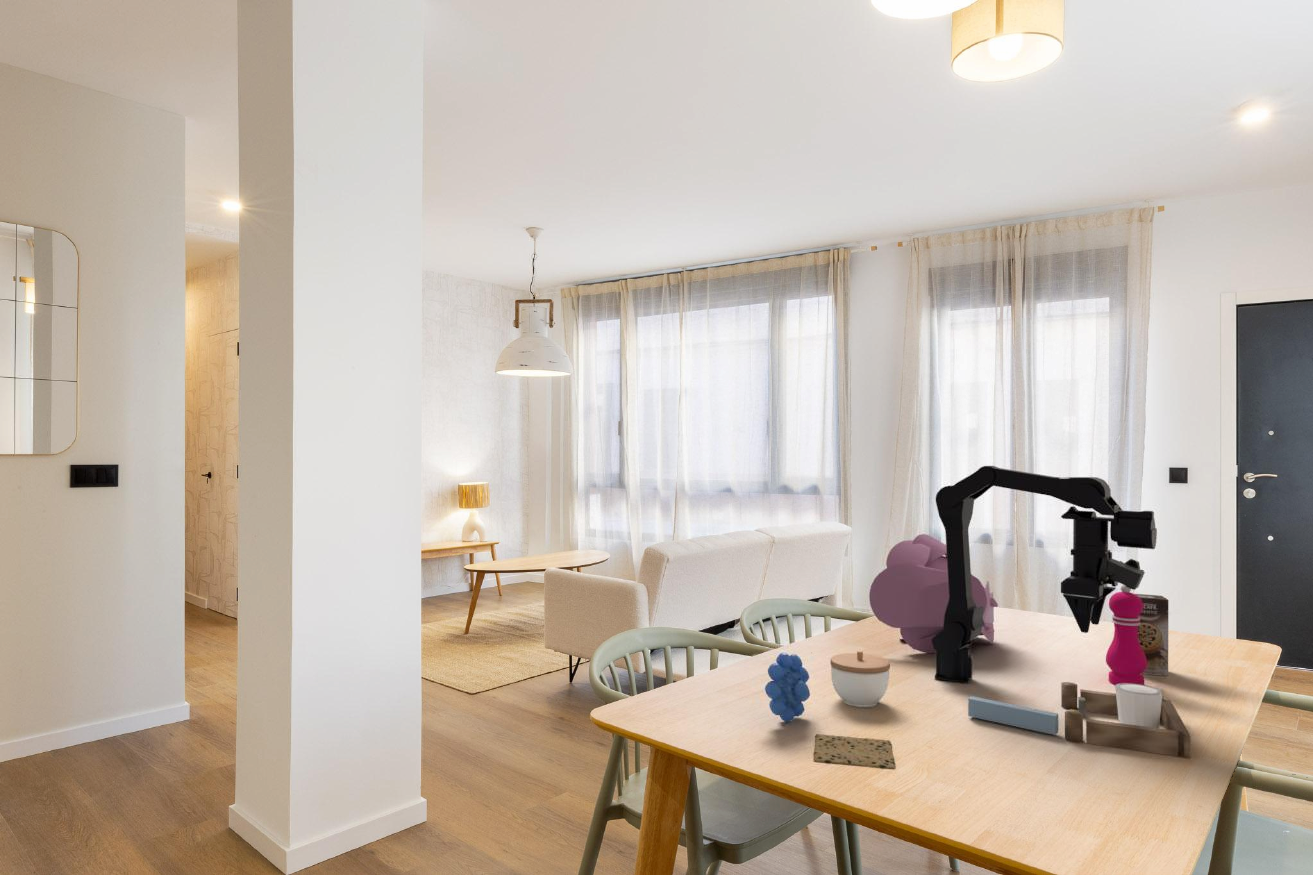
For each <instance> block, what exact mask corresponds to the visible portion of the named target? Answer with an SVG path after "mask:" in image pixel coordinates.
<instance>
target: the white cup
mask: <svg viewBox="0 0 1313 875" xmlns="http://www.w3.org/2000/svg"><path fill="white" fill-rule="evenodd" d="M1114 688H1115V694H1116V699H1117V708H1118V715H1117V718H1118V723H1122V724H1129V725H1137V726H1144V727H1152V728H1159V729H1160V724H1161V723H1160V722H1161V721H1160V713H1161V703H1162V699H1163V691H1162V689H1159V688H1157V687H1152V686H1148V685H1145V684H1144V685H1140V684H1129V683H1123V684H1117V685H1115V684H1114Z"/></svg>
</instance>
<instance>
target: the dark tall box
mask: <svg viewBox="0 0 1313 875" xmlns="http://www.w3.org/2000/svg"><path fill="white" fill-rule="evenodd" d="M1118 592H1119V591H1118ZM1118 592H1115V593H1118ZM1134 594H1135V595H1137V596H1138V597H1139V598H1140V599H1141V600H1142V603H1143V610H1142V612H1141V613H1140V614H1139V616H1138V617H1139V618H1140V620H1139V621H1140V625H1138V631H1137V632H1138V640H1139V643H1140V645H1141V648H1142V650H1143V652H1144V654H1145V656H1146V660H1147V668H1146V670H1145V671H1144V672H1142V673H1141V674H1145V675H1154V676H1165V677H1168V676H1169V599H1167V598H1166V597H1164V596H1163V595H1156V594H1142V593H1134Z"/></svg>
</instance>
